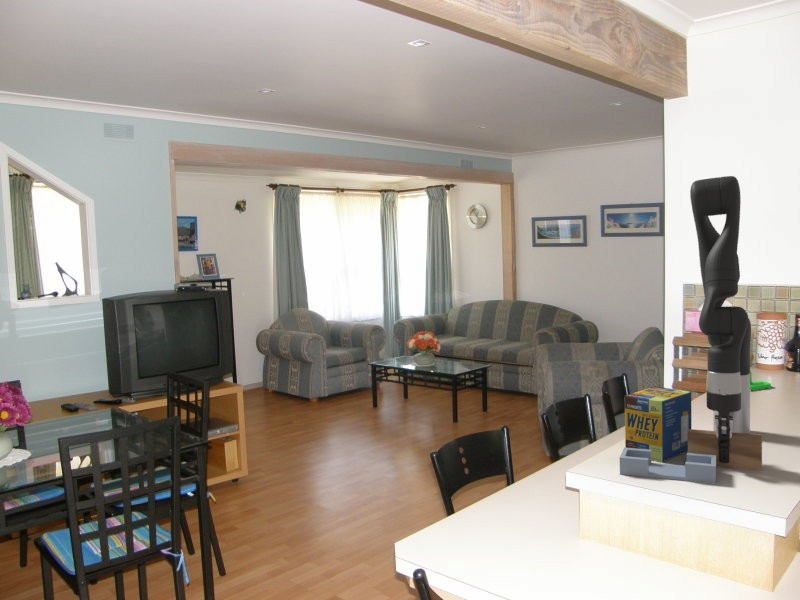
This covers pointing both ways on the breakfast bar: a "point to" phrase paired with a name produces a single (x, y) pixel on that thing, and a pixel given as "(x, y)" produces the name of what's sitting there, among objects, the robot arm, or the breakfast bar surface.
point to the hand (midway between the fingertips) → (724, 459)
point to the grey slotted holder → (668, 466)
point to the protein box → (658, 421)
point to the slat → (741, 450)
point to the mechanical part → (758, 384)
